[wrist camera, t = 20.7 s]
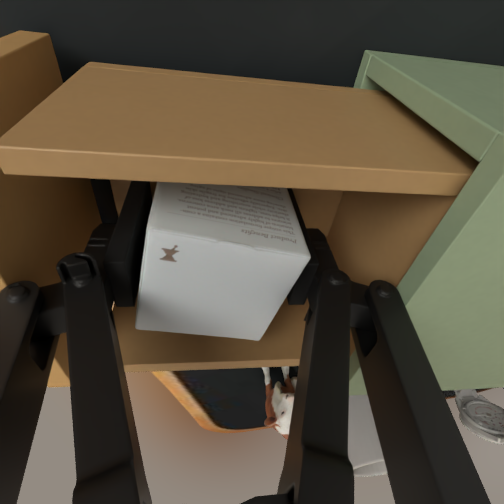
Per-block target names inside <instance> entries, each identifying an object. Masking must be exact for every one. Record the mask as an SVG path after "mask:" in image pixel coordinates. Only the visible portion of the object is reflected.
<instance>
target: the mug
mask: <svg viewBox="0 0 504 504" xmlns="http://www.w3.org/2000/svg"><path fill="white" fill-rule="evenodd" d="M348 458H349V460H350V462H351V464H352V466H353V471H354V476H359V477H362V476H363V477H364V476H376V475H382V474H388V473H387V469H386V465H385V461H384V457H383V453H382V449H381V446H380V442H379V438H378V434H377V430H376V426H375V422H374V418H373V414H372V411H371V407H370V403H369V399H368V395H351V396H349V416H348Z"/></svg>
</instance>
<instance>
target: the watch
mask: <svg viewBox="0 0 504 504" xmlns="http://www.w3.org/2000/svg"><path fill="white" fill-rule="evenodd" d="M503 389H504V387H503ZM455 391H457V392H455V394H456V398H455V401H456V404H457V407H458V410H459V412H460V415H459V417H460V420H461V422H462V424H463V425H464V426H465V427H466V428H467V429H468V430H469V431H471V432H472V433H473V434H475V435H476V436H478V437H480V438H482V439H484V440H487V441H489V442H493V443H497V444H504V409H502V408H501V407H499V406H497V405H495V404H493V403H490V402H489V401H488V400H487V399H485V398H484V397H483V396H481V395H479V396H478V395H477V392H476V391H475V389H462V390H455Z"/></svg>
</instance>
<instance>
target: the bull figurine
mask: <svg viewBox="0 0 504 504" xmlns="http://www.w3.org/2000/svg"><path fill="white" fill-rule="evenodd" d="M281 367H282V371H283V375H284V383H285V387H284V386H283V385H282V384H281V383H280V382H279V381H277V383H276V384H275V388H274V389H273V388H272V380H271V378H270V374H269V373H270V370H269V367H262V369H263V372H264V374H265V385H266V397H267V399H266V403H265V408H266V414H267V417H268V418H266V420H265V422H264V424H265V425H266V426H272V427H273V428H274V429H275V430H276V431H277V432H279V433H281V434H282V435H283V437H284V438H285V439H287V440H288V435H289V428H290V422H291V415H292V409H293V402H294V395H295V389H296V382H297V377H292V378H291V379H290V378H289V366H281ZM291 382H292V383H291Z"/></svg>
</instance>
